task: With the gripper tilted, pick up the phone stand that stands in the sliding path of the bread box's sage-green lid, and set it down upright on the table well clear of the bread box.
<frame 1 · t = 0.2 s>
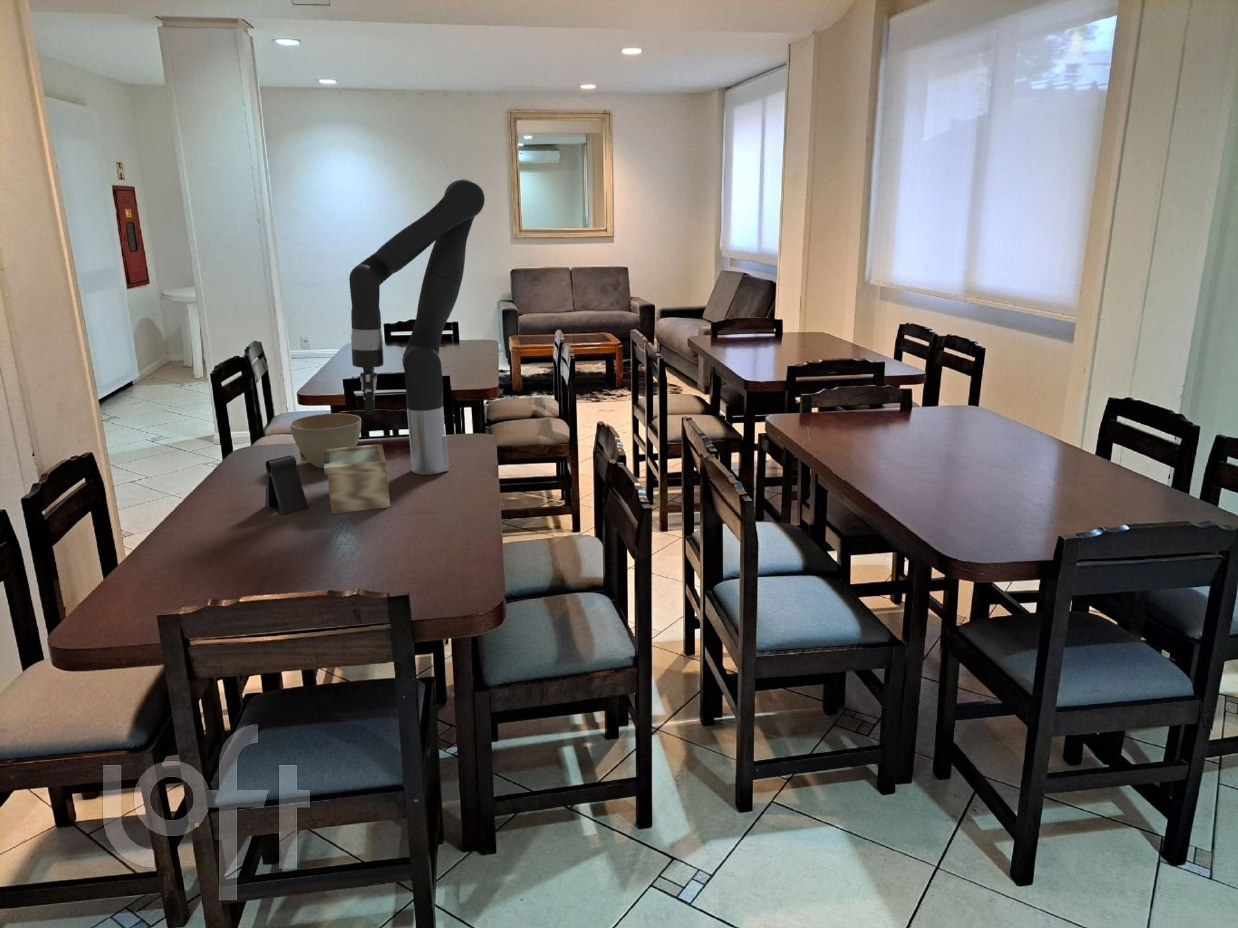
hand: (370, 410, 216), 17 cm above the table, tool pointing down, fingers open, 8 cm apart
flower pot: (330, 464, 232), on the table
bread box: (360, 499, 204), on the table
phone stand: (286, 508, 200), on the table
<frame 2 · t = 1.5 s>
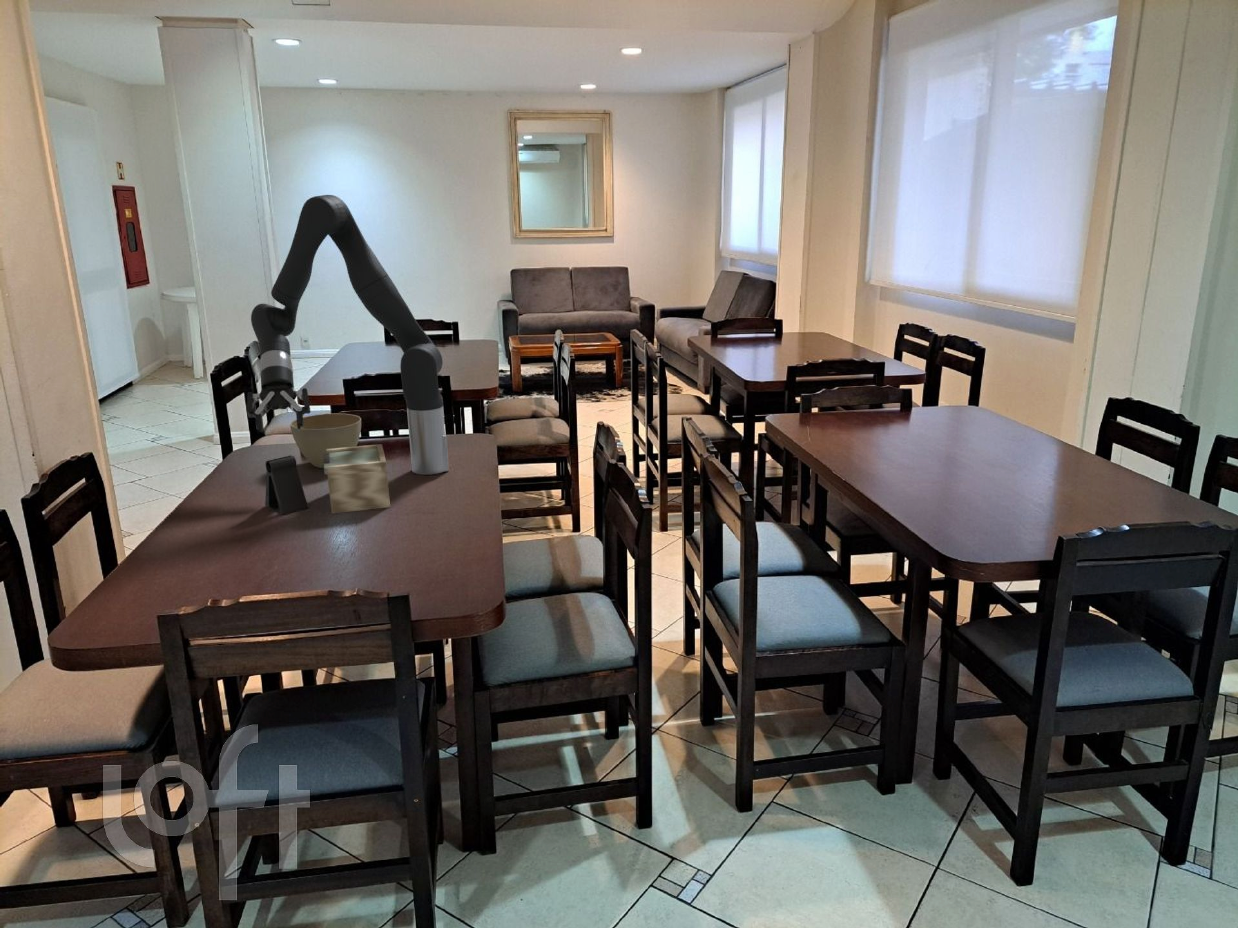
hand: (280, 428, 205), 16 cm above the table, tool tilted 45°, fingers open, 8 cm apart
nothing on the table moved.
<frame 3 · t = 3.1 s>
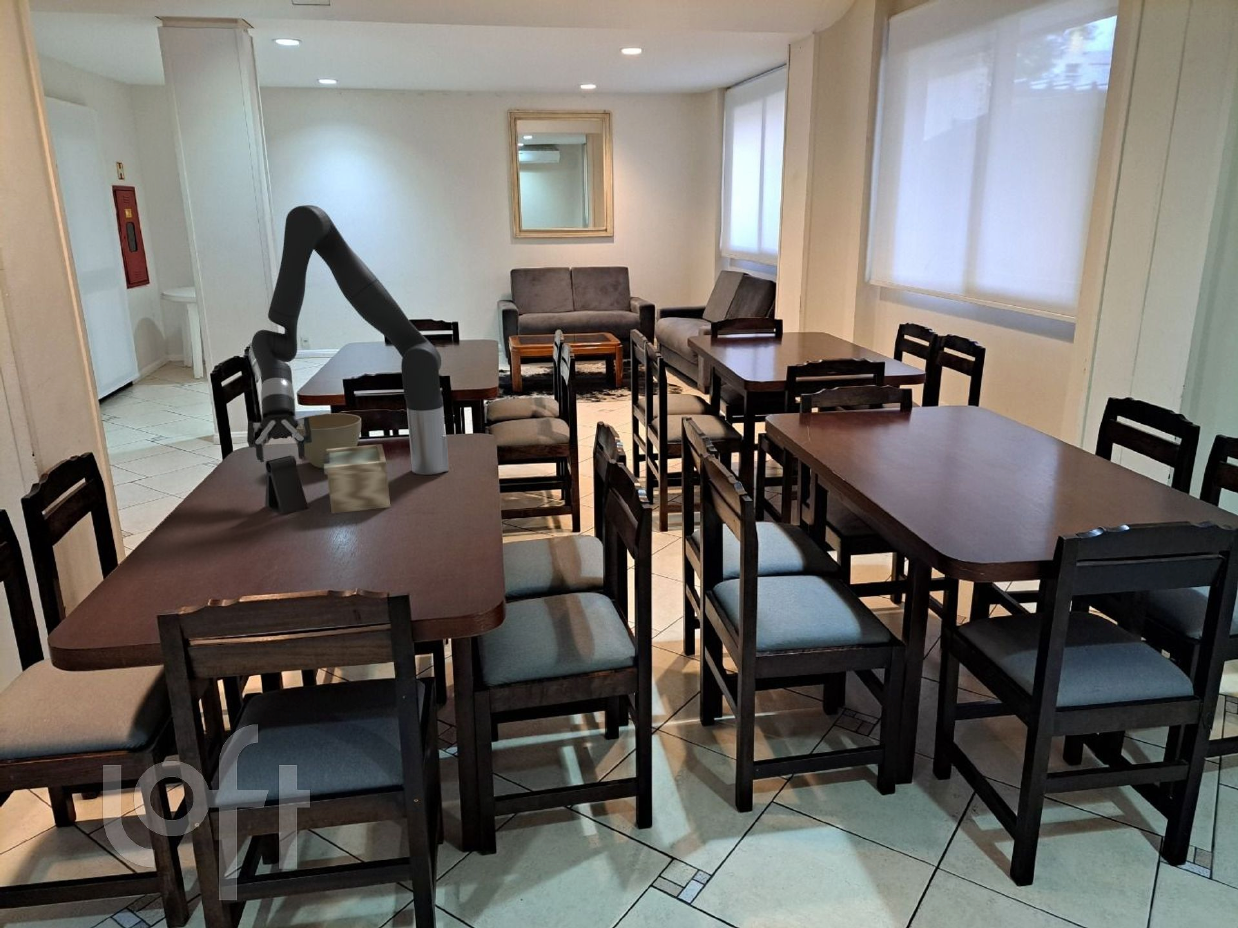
hand: (281, 459, 200), 11 cm above the table, tool tilted 45°, fingers open, 8 cm apart
nothing on the table moved.
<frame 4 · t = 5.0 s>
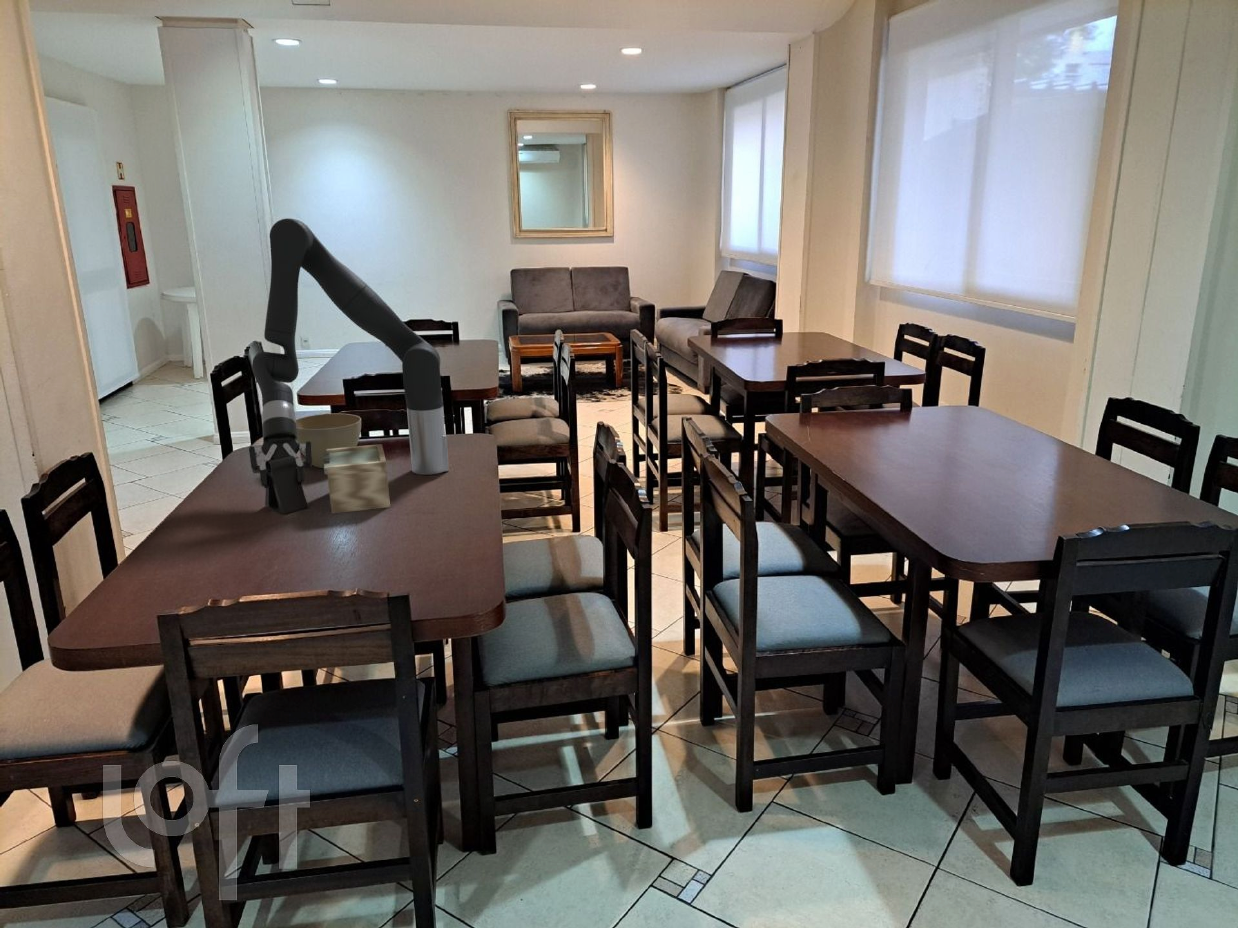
hand: (283, 485, 196), 6 cm above the table, tool tilted 45°, fingers closed on phone stand, 6 cm apart
phone stand: (286, 508, 200), on the table, touching gripper
everything else where it was.
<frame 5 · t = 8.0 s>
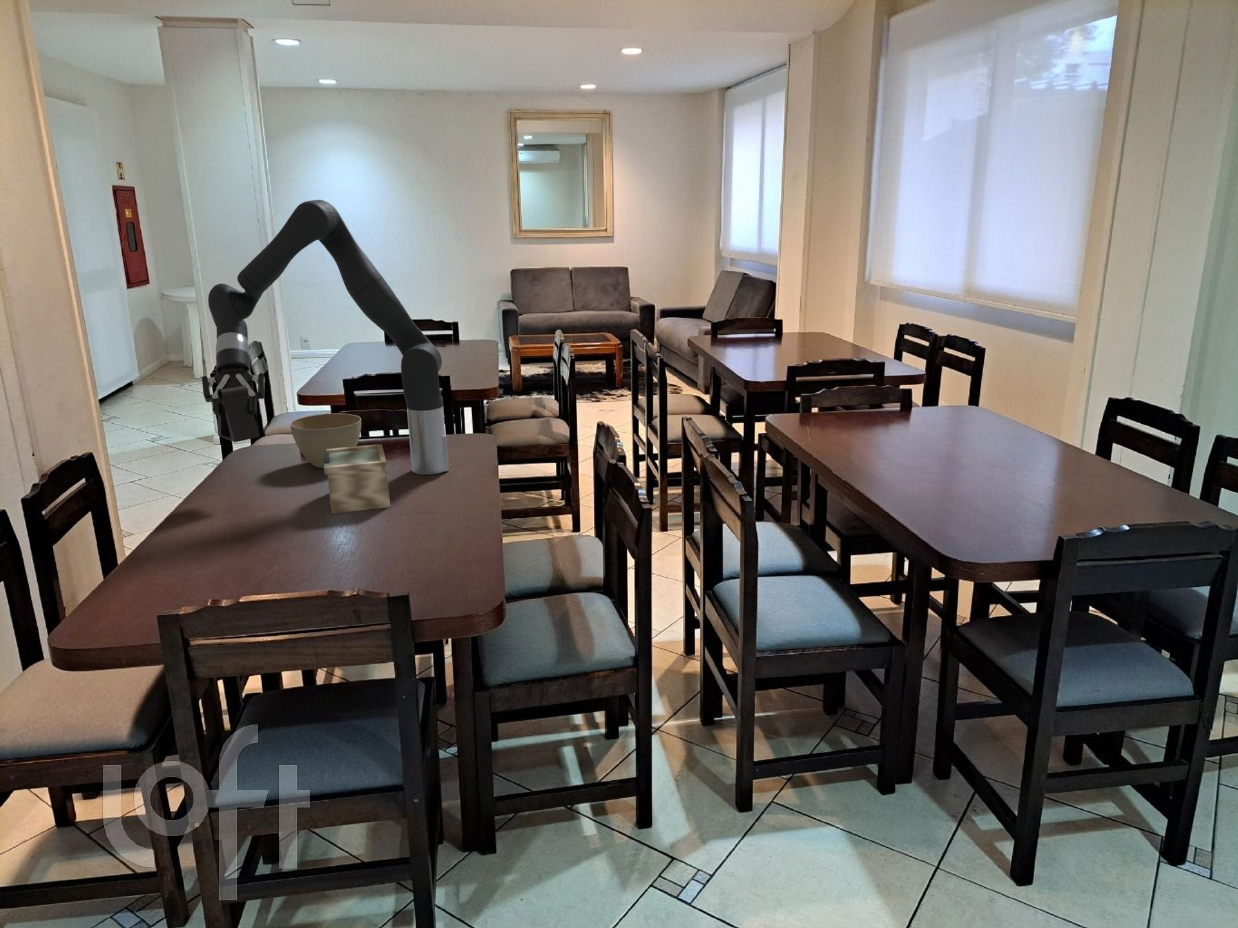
hand: (235, 413, 201), 21 cm above the table, tool tilted 45°, fingers closed on phone stand, 6 cm apart
phone stand: (238, 437, 204), point 15 cm above the table, touching gripper
everything else where it was.
when the fingers open (7 cm above the table, at t = 11.3 s): phone stand drops 1 cm, on the table.
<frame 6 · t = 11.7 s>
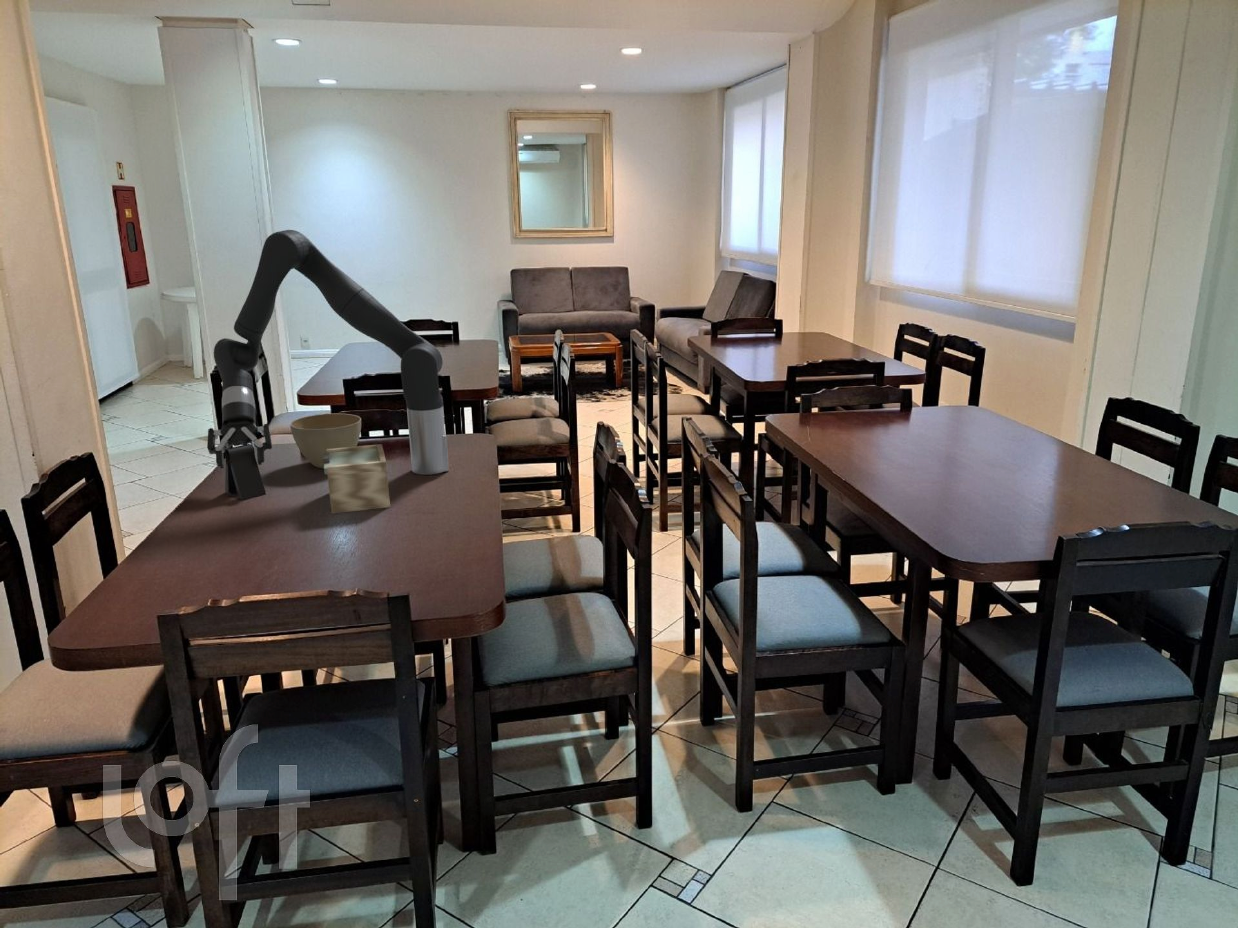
hand: (240, 465, 206), 8 cm above the table, tool tilted 45°, fingers open, 8 cm apart
phone stand: (245, 494, 209), on the table
everything else where it was.
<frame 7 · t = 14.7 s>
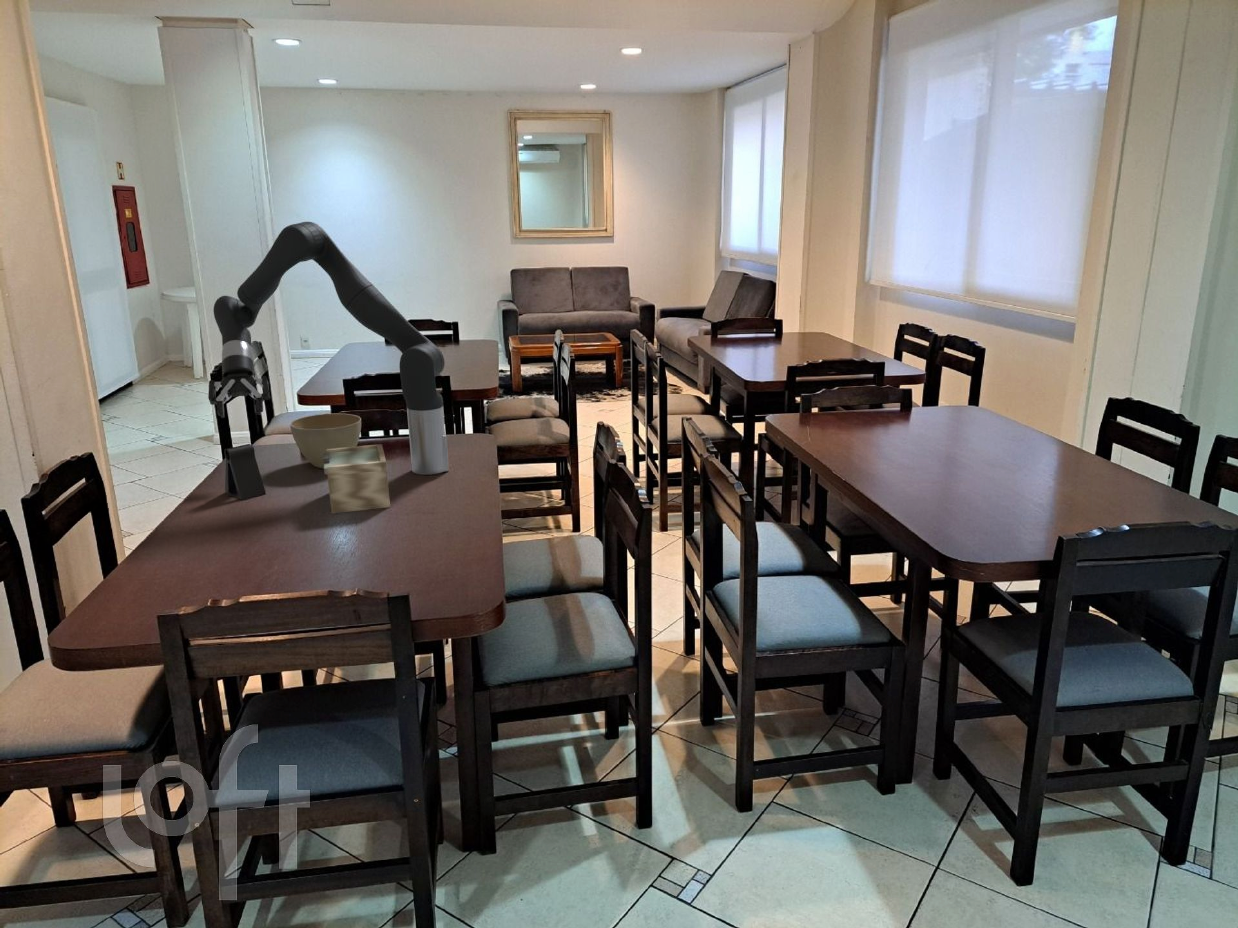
hand: (240, 414, 215), 17 cm above the table, tool tilted 45°, fingers open, 8 cm apart
nothing on the table moved.
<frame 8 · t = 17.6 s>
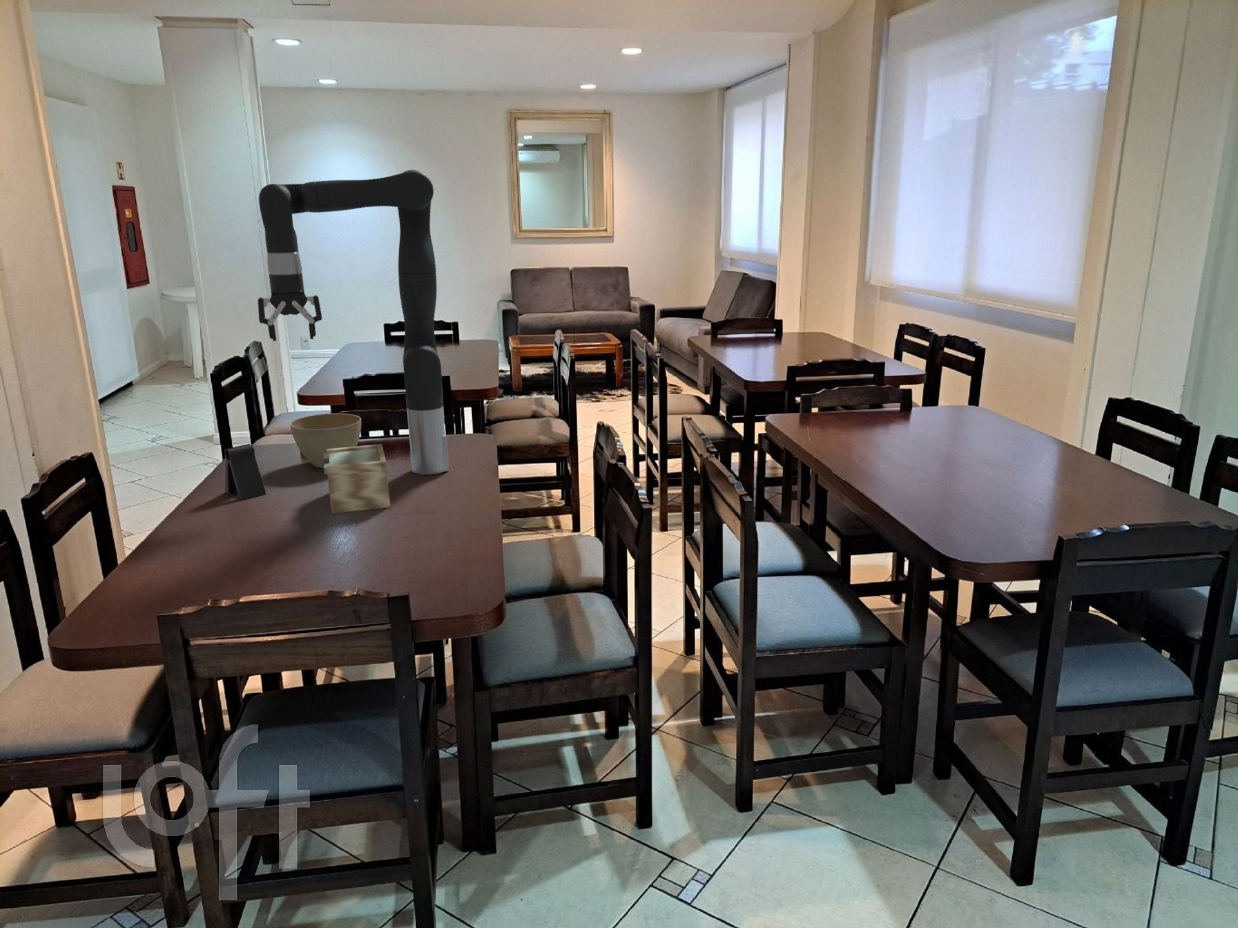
hand: (293, 339, 208), 36 cm above the table, tool pointing down, fingers open, 8 cm apart
nothing on the table moved.
at the end: phone stand inside the target area (0.2 cm from its centre), on the table; phone stand tilted 0°; the gripper is holding nothing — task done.
